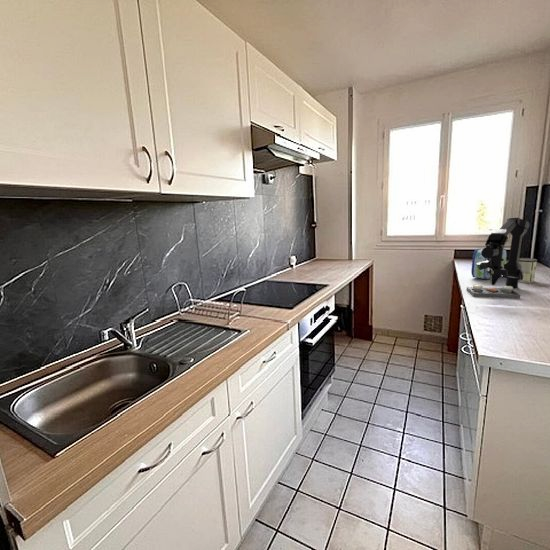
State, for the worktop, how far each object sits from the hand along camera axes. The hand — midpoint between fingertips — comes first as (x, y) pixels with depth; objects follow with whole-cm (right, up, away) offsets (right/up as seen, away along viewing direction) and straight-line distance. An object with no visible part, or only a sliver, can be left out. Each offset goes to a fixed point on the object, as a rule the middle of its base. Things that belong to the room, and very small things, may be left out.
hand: (492, 284), depth 167 cm
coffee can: (+43, +1, +32) cm, 53 cm away
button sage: (+7, -4, -1) cm, 8 cm away
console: (0, -6, +1) cm, 6 cm away
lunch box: (+28, +3, +45) cm, 53 cm away
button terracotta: (0, -5, +1) cm, 5 cm away
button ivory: (-6, -4, +3) cm, 8 cm away
